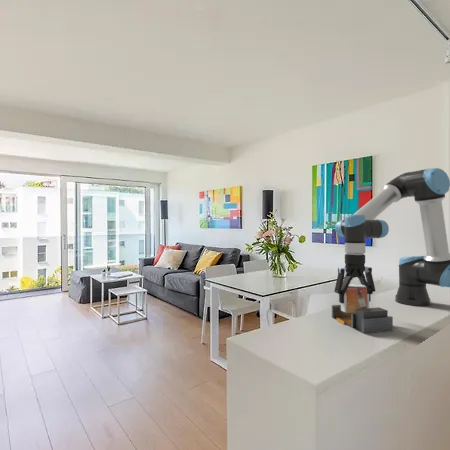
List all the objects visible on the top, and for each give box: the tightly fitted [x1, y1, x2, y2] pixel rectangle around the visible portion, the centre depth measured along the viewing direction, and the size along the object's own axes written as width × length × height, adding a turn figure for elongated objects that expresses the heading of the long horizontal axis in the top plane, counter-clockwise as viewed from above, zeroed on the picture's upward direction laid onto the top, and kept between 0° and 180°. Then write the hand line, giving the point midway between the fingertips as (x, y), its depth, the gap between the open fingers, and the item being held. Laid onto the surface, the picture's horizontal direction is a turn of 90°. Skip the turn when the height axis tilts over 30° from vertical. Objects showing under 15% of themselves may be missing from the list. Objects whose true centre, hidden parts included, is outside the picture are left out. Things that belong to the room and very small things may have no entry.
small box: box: [345, 283, 367, 313], centre depth 125 cm, size 8×6×10 cm
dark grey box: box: [356, 307, 389, 331], centre depth 116 cm, size 10×4×7 cm, turn 103°
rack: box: [331, 304, 394, 334], centre depth 122 cm, size 13×20×6 cm, turn 13°
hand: (355, 310), depth 125 cm, fingers closed on small box, 9 cm apart
